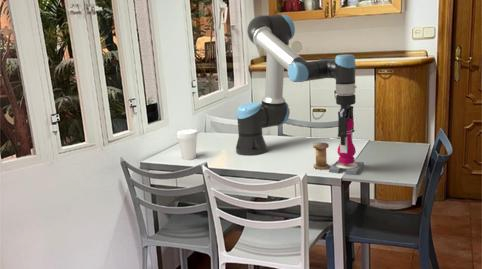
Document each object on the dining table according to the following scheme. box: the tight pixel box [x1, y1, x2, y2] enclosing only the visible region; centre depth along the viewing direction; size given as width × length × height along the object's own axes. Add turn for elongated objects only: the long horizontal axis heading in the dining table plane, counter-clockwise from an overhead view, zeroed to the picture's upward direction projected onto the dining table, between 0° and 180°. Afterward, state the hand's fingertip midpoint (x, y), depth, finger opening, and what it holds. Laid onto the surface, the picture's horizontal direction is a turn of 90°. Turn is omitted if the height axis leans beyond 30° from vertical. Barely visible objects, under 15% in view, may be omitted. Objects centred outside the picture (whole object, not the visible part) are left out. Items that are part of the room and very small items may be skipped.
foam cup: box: [176, 129, 198, 161], centre depth 221 cm, size 10×9×13 cm
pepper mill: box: [337, 118, 356, 164], centre depth 187 cm, size 7×7×20 cm
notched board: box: [328, 159, 365, 176], centre depth 190 cm, size 11×13×2 cm
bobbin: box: [312, 142, 330, 171], centre depth 193 cm, size 6×6×10 cm
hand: (346, 150), depth 189 cm, fingers closed on pepper mill, 7 cm apart
